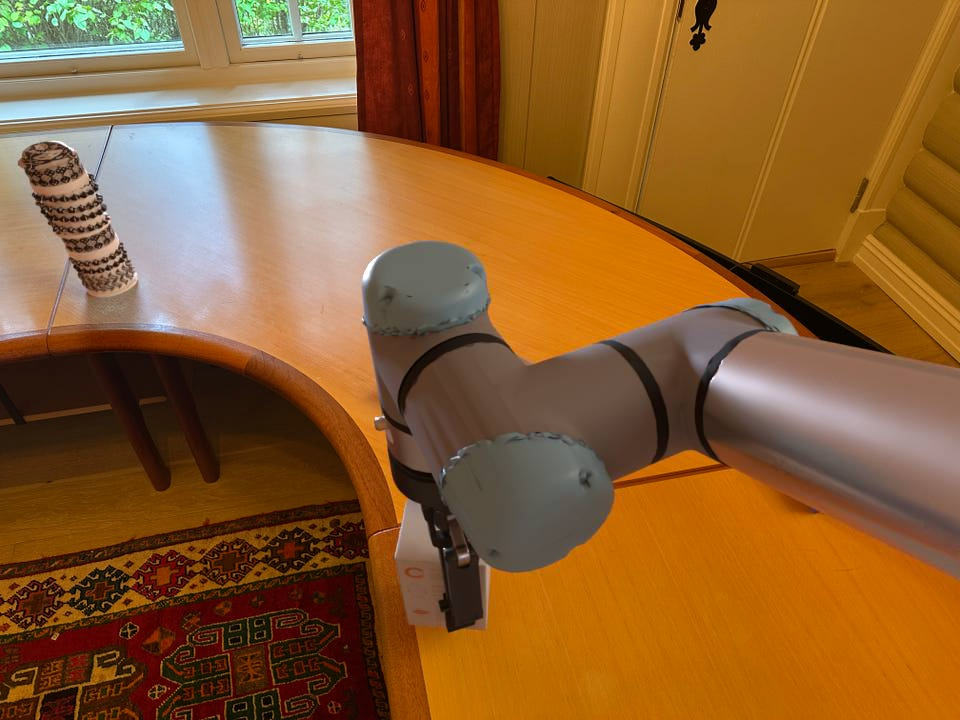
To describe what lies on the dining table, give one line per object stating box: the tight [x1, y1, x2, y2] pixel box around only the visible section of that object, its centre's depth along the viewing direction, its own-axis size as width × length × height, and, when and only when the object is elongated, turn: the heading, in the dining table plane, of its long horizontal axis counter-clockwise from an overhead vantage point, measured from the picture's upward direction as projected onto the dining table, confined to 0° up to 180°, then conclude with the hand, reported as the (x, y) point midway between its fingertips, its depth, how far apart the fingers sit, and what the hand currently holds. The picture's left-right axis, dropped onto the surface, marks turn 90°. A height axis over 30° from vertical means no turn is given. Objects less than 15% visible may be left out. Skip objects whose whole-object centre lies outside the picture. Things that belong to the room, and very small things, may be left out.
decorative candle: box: [17, 140, 139, 298], centre depth 99 cm, size 9×9×25 cm
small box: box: [394, 499, 492, 631], centre depth 58 cm, size 8×6×13 cm
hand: (448, 584), depth 61 cm, fingers closed on small box, 8 cm apart
